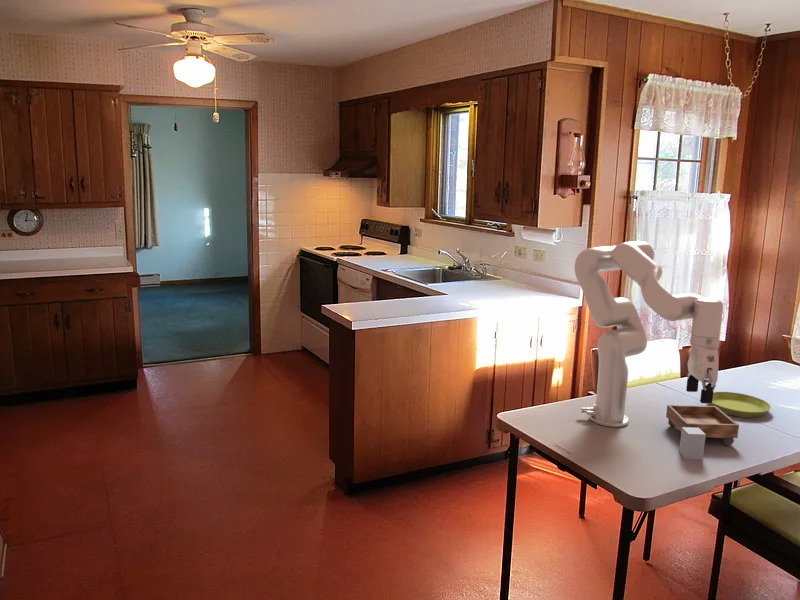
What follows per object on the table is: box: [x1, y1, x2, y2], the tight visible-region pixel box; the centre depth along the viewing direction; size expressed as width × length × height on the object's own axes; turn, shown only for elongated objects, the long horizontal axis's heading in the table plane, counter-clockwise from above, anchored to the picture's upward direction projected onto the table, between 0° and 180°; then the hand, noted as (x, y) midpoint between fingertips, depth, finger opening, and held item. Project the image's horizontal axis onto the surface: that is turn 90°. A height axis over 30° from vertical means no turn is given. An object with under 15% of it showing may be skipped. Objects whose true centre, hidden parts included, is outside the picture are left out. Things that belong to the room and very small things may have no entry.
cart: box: [665, 404, 740, 446], centre depth 208 cm, size 16×16×7 cm
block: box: [678, 427, 707, 461], centre depth 194 cm, size 5×5×8 cm
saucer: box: [709, 391, 772, 418], centre depth 233 cm, size 21×21×3 cm
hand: (698, 397), depth 190 cm, fingers open, 9 cm apart
